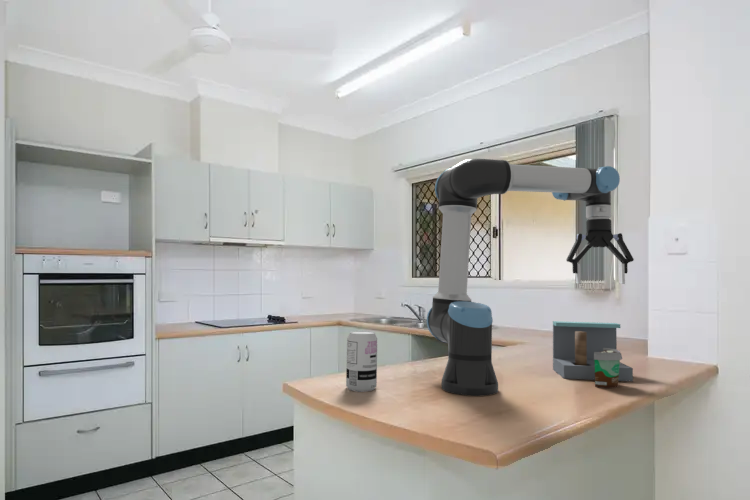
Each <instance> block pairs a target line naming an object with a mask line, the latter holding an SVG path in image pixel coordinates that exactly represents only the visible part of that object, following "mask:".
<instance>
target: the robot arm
mask: <svg viewBox="0 0 750 500" xmlns="http://www.w3.org/2000/svg"><path fill="white" fill-rule="evenodd" d="M620 182H621V180H620V174H619V172H618V170H617V169H616V168H615V167H614V166H610V165H607V166H600V167H598V168H588V167H587V168H586V167H585V168H584V167H568V166H548V165H533V164H532V165H531V164H515V163H510V162H509V161H508V160H505V159H493V158H492V159H491V158H468V159H464V160H462V161H460V162H459V163H457V164H455V165H453V166H450V167H448V168H446V169H445V170H444V171H443V172H442V173H441V174H440V175H439V176H438V177H437V179H436V181H435V183H434V184H435V185H434V192H435V197H436V199H438V210H439V211H440V212H441V214H442V225H441V227H442V228H441V243H440V244H441V245H440V259H439V260H440V261H439V276H438V290H437V293H436V294H434V295H433V296H432V303H431V305H432V306H431V308H430V309H429V310H428V312H427V315H426V326H427V327H426V328H427V329H428V332H429V333H430V334H431V336H432V337H434V338H435V339H436V340H438V341H439V342H442V343H444V344H447V345H448V348H447V349H448V351H447V352H448V359H447V363H446V365H445V368H444V372H443V374H442V378H441V389H442V390H443V391H445V392H448V393H450V394H456V395H459V396H460V395H462V396H472V397H473V396H474V397H475V396H477V397H478V396H479V397H480V396H482V397H483V396H491V395H495V394H497V393H498V392H499V382H498V379H497V374H496V371H495V368H494V365H493V363H492V359H493V358H492V353H493V352H492V349H493V348H492V347H493V344H492V343H493V336H492V335H493V322H494V321H493V314H492V313H493V312H492V308H491V307H490V306H489V305H487V304H484V303H481V302H475V301H472V298H471V297H470V295H468V293H467V292H468V278H469V276H468V275H469V261H470V245H471V244H470V243H471V228H472V227H471V225H472V215H473V214H475V212H476V211H478V199H480V198H483V197H485V196H491V195H505V194H507V192H526V193H527V192H528V193H529V192H530V193H531V192H532V193H533V192H534V193H551V194H552V197H553V198H554V199H556V200H560V201H580V202H581V201H583V202H585V218H586V219H587V220H586V221H585V224H586V225H585V226H586V227H585V228H586V229H585V230H586V234H582V233H577V234H576V236H575V241H574V244H573V245H572V247H571V249H570V251H569V253H568V255H567V258H566V262H567V263H571V265H572V274H575V284H578V285H581V279H582V278H581V263H579V262H580V260H581V259H582V258H583V257H584V256H585V255H586V254H587V252H588V251H589V250H590V249H591V248H607V249H608V250H609V252H611V253H612V254H613V255H614V256H615V257H616V258H617V259H618V261H619V262H620V263H618V281H619V282H618V283H619V285H626V284H625V283H626V280H625V279H626V275H625V274H628V270H629V269H628V264H629V263H631V262H634V261H635V258H634V257H633V255H632V254H631V251H630V250H629V248H628V247H627V244H626V243H625V241H624V237H623V233H619V232H618V233H614V234H613V232H612V231H613V230H612V220H611V217H612V206H611V205H612V201H611V199H612V191H614V190H616V189H617V188H618V186H619V184H620ZM584 239H585V240H586V242H587V243H586V244H585V245H584V247H583V248H582V249H581V250H580V251H579V252H578V253H577V251H578V249H579V247H580V245H581V243H582V242H583V241H584ZM612 240H614V241H616V243H617V245H618V247H619V249H620V250H621V252H620V251H619V250H618V248H616V246H615V245H614V243H612V242H611V241H612ZM576 253H577V255H576ZM622 253H623V254H622ZM575 255H576V256H575Z"/></svg>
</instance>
